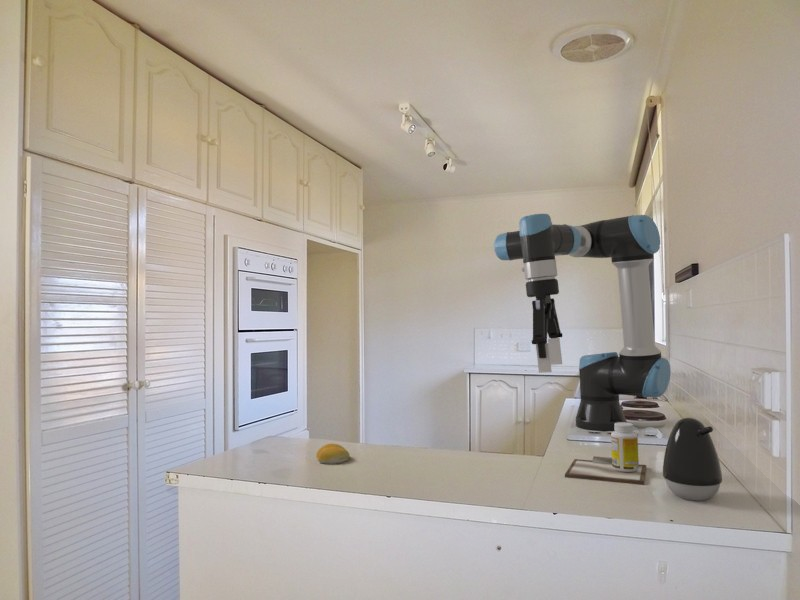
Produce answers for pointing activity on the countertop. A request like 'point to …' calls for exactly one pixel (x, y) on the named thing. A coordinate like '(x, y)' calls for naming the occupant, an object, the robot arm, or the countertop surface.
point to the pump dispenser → (692, 461)
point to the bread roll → (332, 454)
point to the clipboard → (604, 471)
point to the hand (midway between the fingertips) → (551, 368)
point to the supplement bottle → (624, 448)
